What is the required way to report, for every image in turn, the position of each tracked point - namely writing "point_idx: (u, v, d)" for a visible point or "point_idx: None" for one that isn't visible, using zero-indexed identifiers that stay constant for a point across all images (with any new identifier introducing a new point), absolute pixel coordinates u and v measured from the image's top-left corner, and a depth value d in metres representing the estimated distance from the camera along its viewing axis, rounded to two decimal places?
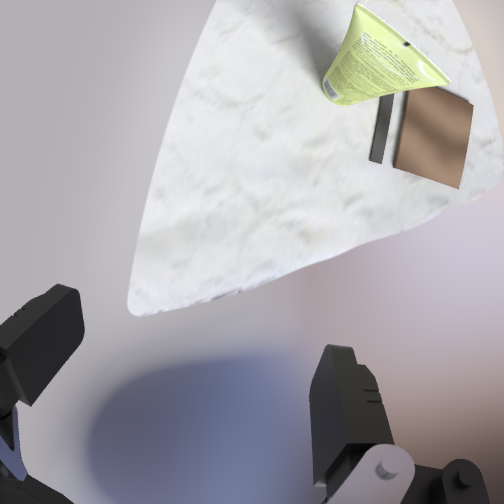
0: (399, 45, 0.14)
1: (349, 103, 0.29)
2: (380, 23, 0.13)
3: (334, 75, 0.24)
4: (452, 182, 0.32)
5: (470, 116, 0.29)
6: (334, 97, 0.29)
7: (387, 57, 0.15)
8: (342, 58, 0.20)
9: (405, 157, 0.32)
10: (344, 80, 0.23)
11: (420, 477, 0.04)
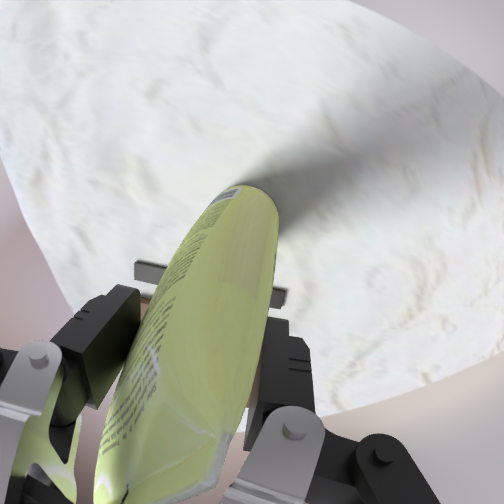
0: (128, 473, 0.04)
1: None
2: (156, 482, 0.03)
3: (213, 213, 0.14)
4: None
5: None
6: None
7: (127, 404, 0.06)
8: (199, 247, 0.09)
9: None
10: (186, 238, 0.12)
11: (338, 448, 0.05)
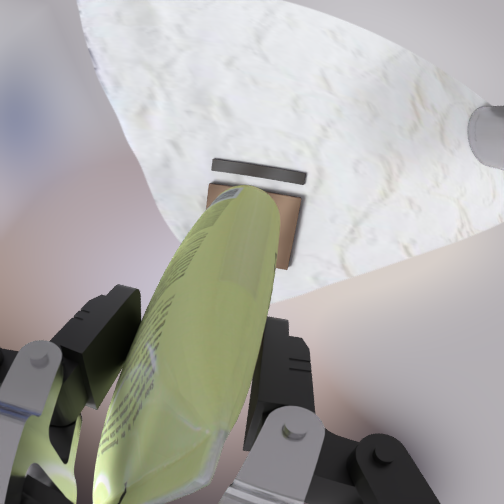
0: (126, 472, 0.04)
1: None
2: (152, 480, 0.03)
3: (214, 212, 0.13)
4: None
5: None
6: None
7: (126, 402, 0.06)
8: (199, 245, 0.09)
9: (220, 192, 0.39)
10: (186, 237, 0.12)
11: (338, 448, 0.05)
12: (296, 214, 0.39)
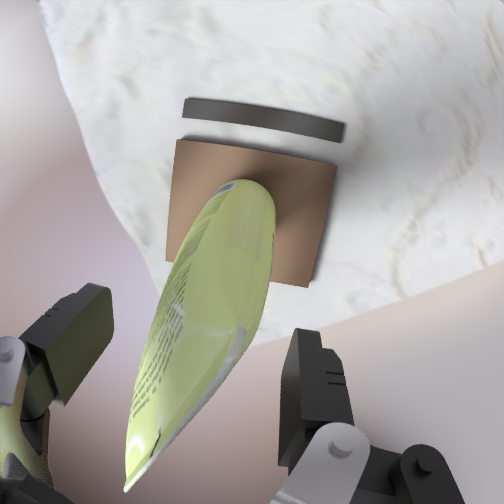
0: (160, 417, 0.06)
1: None
2: (187, 401, 0.05)
3: (214, 203, 0.15)
4: (172, 247, 0.25)
5: (286, 280, 0.25)
6: None
7: (155, 361, 0.07)
8: (206, 228, 0.11)
9: (195, 153, 0.22)
10: (192, 226, 0.14)
11: (380, 460, 0.05)
12: (328, 193, 0.22)
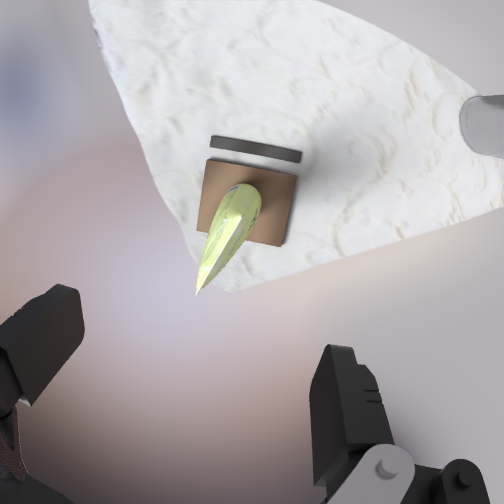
0: (218, 251, 0.24)
1: None
2: (229, 235, 0.22)
3: (230, 195, 0.33)
4: (201, 222, 0.42)
5: (268, 242, 0.42)
6: None
7: (214, 240, 0.25)
8: (229, 202, 0.28)
9: (217, 168, 0.39)
10: (221, 204, 0.31)
11: (420, 477, 0.04)
12: (291, 191, 0.40)
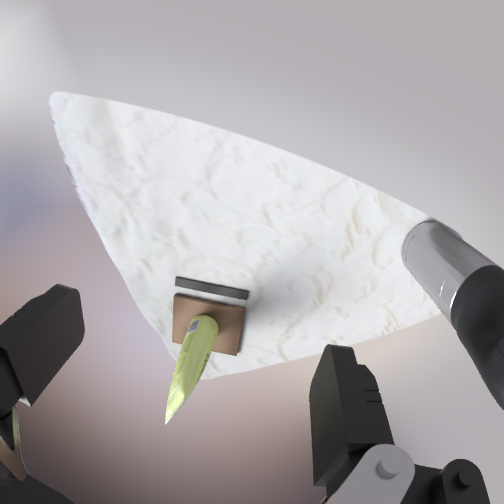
0: (175, 405, 0.34)
1: None
2: (179, 403, 0.33)
3: (188, 342, 0.43)
4: (175, 337, 0.53)
5: (226, 352, 0.53)
6: (188, 328, 0.48)
7: (173, 395, 0.36)
8: (184, 361, 0.39)
9: (182, 302, 0.50)
10: (181, 352, 0.42)
11: (420, 477, 0.04)
12: (241, 320, 0.50)
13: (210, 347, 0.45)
